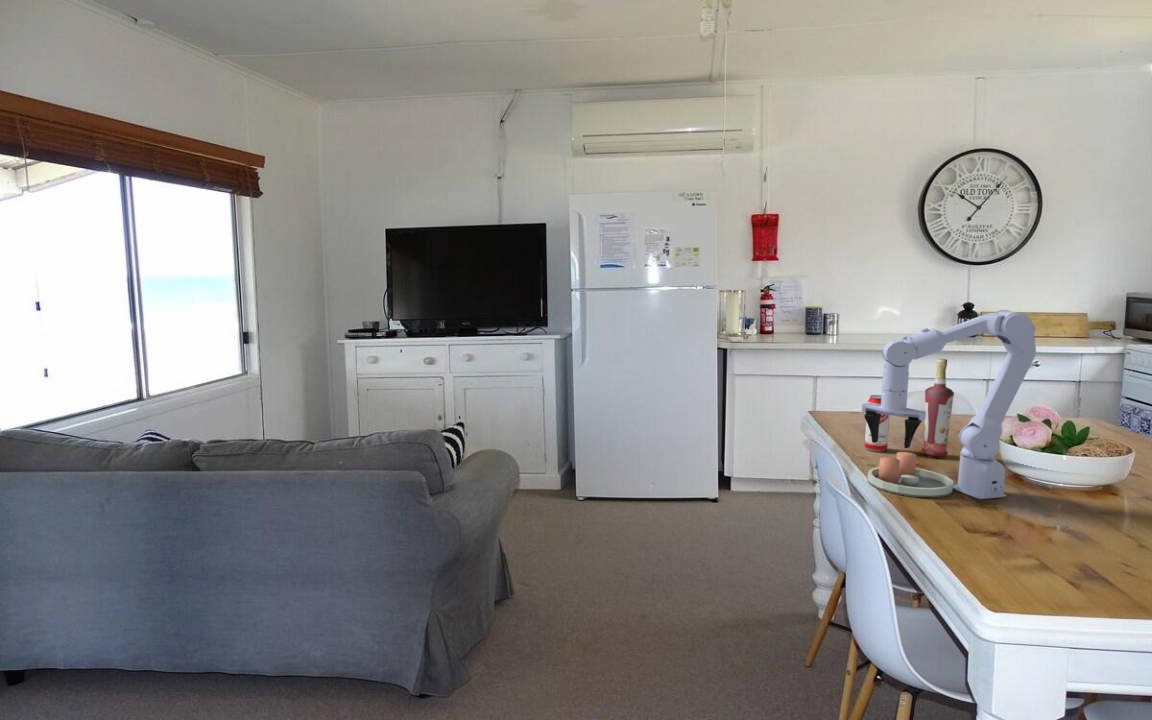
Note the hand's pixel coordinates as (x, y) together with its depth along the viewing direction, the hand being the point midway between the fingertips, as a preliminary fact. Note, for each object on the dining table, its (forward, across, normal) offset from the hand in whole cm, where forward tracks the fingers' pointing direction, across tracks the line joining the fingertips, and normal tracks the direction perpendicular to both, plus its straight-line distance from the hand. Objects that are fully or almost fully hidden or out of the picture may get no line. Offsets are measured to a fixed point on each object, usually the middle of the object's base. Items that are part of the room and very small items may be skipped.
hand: (890, 444), depth 177 cm
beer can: (+11, +15, -34) cm, 39 cm away
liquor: (+11, 0, -39) cm, 40 cm away
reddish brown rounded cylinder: (+10, 0, 0) cm, 10 cm away
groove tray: (+10, -4, -4) cm, 12 cm away
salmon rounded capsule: (+10, -1, -8) cm, 13 cm away
